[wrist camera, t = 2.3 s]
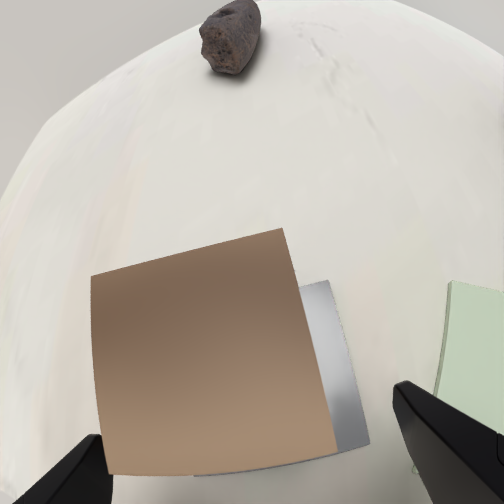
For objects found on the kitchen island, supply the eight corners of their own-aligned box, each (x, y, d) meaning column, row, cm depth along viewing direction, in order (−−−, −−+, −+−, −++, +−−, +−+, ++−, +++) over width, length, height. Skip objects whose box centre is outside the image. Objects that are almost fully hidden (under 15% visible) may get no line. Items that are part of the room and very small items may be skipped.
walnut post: (312, 413, 15) (337, 451, 5) (229, 429, 16) (109, 474, 5) (294, 334, 17) (282, 228, 7) (215, 351, 18) (90, 276, 7)
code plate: (368, 442, 15) (370, 444, 14) (196, 474, 15) (193, 476, 14) (327, 283, 19) (328, 279, 19) (170, 319, 20) (166, 316, 19)
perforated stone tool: (238, 28, 36) (229, -14, 30) (276, 27, 35) (269, -16, 28) (198, 87, 30) (180, 33, 24) (246, 86, 29) (233, 28, 23)
